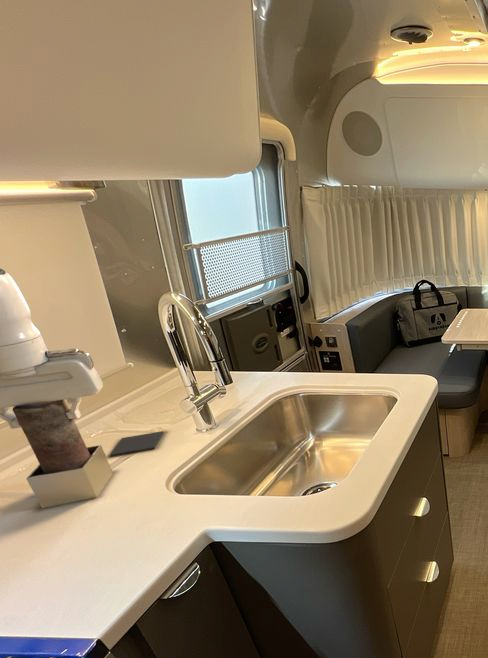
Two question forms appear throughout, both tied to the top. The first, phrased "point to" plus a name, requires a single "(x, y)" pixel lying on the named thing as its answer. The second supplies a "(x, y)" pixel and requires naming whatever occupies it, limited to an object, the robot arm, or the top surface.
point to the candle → (52, 436)
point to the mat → (137, 443)
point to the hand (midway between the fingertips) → (47, 422)
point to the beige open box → (72, 481)
